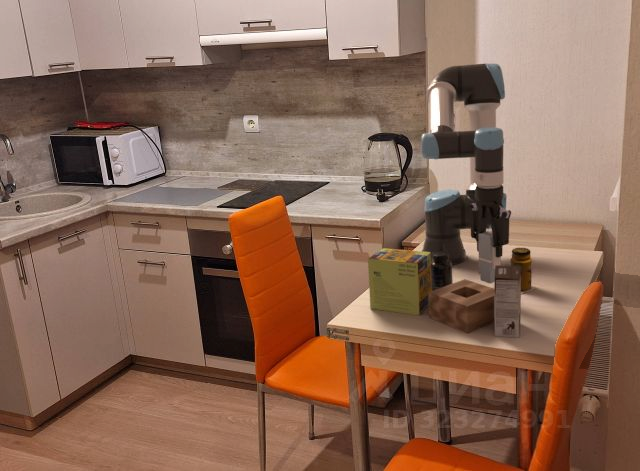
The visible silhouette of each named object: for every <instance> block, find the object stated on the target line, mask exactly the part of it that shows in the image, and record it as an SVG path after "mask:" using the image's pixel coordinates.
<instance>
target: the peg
mask: <svg viewBox="0 0 640 471" xmlns="http://www.w3.org/2000/svg"><path fill="white" fill-rule="evenodd" d="M498 242H499V241H498ZM493 245H494V240H493V234H492V230H491V231H490V230H486V232H483V233H481V234H479V252H478V275H480V281H482V282H484V283H486V284H493V283H494V280H495V279H494V277H495V269H494V268H492V246H493Z"/></svg>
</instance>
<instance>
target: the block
mask: <svg viewBox="0 0 640 471" xmlns="http://www.w3.org/2000/svg"><path fill="white" fill-rule="evenodd" d="M428 309H429V310H428V311H429V312H428V313H429V319H432V320H434V321H436V322H438V323H441V324H444V325H446V326H448V327H451V328H453V329H456V330H459V331H461V332H463V333H466V334H469V333H472V332H474V331H475V330H479V329H480V328H483V327H486V326H488V325H490V324H493V323H495V310H494V287H490V286H487V285H485V284H481V283H478V282H475V281H472V280H468V279H465V278H464V279H461V280H459V281H456V282H453V284H450V285H447V286H445V287H442V288H439V289H436V290H434V291H431V292H429V306H428Z"/></svg>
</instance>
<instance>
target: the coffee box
mask: <svg viewBox="0 0 640 471" xmlns="http://www.w3.org/2000/svg"><path fill="white" fill-rule="evenodd" d="M494 279H495V280H494V282H493V283H494V284H493V286H494V287H493V288H494V310H495V322H494V337H503V338H520V337H521V317H522V316H521V305H522V304H521V303H522V302H521V299H522V298H521V296H522V294H521V268H520V266H510V265H504V264H503V265H497V266H495V277H494Z"/></svg>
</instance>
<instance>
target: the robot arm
mask: <svg viewBox="0 0 640 471" xmlns="http://www.w3.org/2000/svg"><path fill="white" fill-rule="evenodd" d="M505 89H506V88H505V82H504V75H503V71H502V67H501V66H500V64H498V63H486V62H485V63H478V64H466V65H452V66H447V67H446V68H444V69H442V70H440V71H438V73H437V74H436V75H434V76H433V78H432V79H431V80H430V82H429V83H428V85H427V88H426V94H425V95H426V101H427V103H428V106H429V107H428V132H426V133H425V132H424V133H423V134H422V135H421V143H420V144H421V145H420V146H421V156H422V158H423V159H425V160H442V159H445V160H447V159H466V158H469V167H470V168H469V169H470V170H469V171H470V172H469V173H470V174H469V175H470V176H469V177H470V178H469V179H470V184H469V185H468V187H466V189H465V194H461V193H460V191H459V189H458V190H457V189H444V190H438V191H436V192H435V191H434V192H432V193H430V194H429V195H427V196H426V197H425V199H424V209H423V211H424V217H425V218H424V219H425V220H424V224H425V225H424V226H425V227H424V228H425V239H424V243H423V247H422V250H421V251H422V252H431V253H430V254H431V262H432V261H433V260H432V253H433V252H436V251H445V252H447V253H448V257H449V259H448V261H450V262H451V264H452V265H457V264H460V263H462V262H465V260H466V258H467V252H466V249H465V248H464V244H463V241H462V238H461V230H470V238H472V239H475V242H476V250H477V253H479V234H481V233H483V232H486V231H487V230H491V231H492V234H493V240H494V245H493V246H492V268H494V269H495V266H497V265H501V264H502V261H501V259H502V258H501V257H503V246H507V245H509V243H510V218H511V215H512V211H511V210H510V209H509V210H507V197H508V196H507V193H505V192H504V185H503V184H504V180H505V179H504V144H505V139H504V131H503V129H502V128H498V127H497V110H498V109H499V107H500V106H501V101H502V100H504V99H505V98H506V92H505V91H506V90H505ZM456 102H457V103H458V102H459V103H460V102H463V103H464V105H463V107H464V108H465V110H467V111H468V113H469V114H468V118H469V122H468V124H469V127H468V128H469V130H464V131H460V130H459V131H458V130H457V131H455V112H454V111H455V110H454V104H455V103H456ZM498 241H499V242H498Z"/></svg>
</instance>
